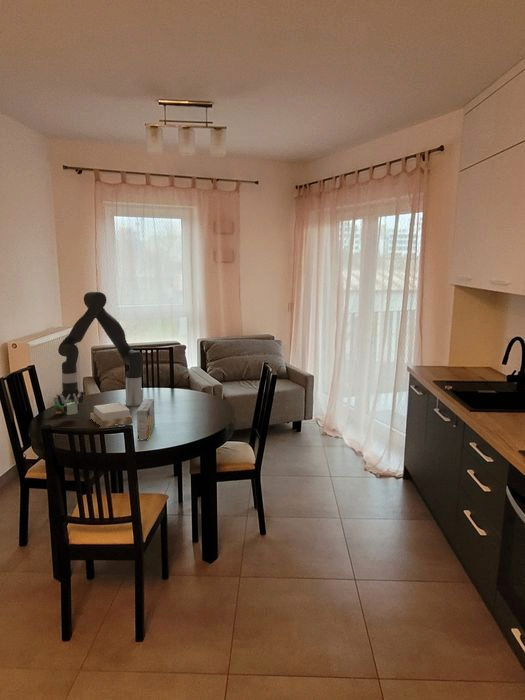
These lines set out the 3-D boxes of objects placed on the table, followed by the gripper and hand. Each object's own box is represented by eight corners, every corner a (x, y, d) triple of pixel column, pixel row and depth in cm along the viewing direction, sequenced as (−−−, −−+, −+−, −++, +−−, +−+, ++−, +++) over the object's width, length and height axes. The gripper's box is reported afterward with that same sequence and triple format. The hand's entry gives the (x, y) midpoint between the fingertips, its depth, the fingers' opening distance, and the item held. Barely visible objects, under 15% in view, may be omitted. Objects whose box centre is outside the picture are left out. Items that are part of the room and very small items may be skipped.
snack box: (144, 426, 235) (144, 398, 233) (155, 426, 236) (155, 398, 234) (136, 440, 215) (136, 410, 212) (148, 440, 215) (148, 410, 213)
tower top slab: (119, 409, 252) (119, 402, 252) (129, 416, 239) (129, 409, 239) (93, 413, 244) (93, 405, 243) (102, 420, 231) (102, 413, 231)
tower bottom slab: (119, 415, 254) (119, 408, 254) (132, 423, 241) (132, 416, 240) (90, 420, 244) (90, 413, 244) (102, 429, 231) (102, 421, 230)
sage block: (74, 411, 245) (74, 402, 244) (77, 413, 241) (77, 404, 240) (65, 412, 241) (64, 403, 241) (68, 415, 238) (67, 405, 237)
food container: (64, 416, 247) (63, 398, 246) (54, 415, 249) (53, 397, 247) (77, 410, 259) (77, 393, 258) (68, 409, 261) (67, 392, 259)
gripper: (81, 377, 246) (82, 407, 248) (53, 381, 236) (55, 412, 239) (85, 380, 240) (87, 411, 243) (57, 384, 231) (59, 416, 234)
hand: (71, 411), depth 241 cm, fingers closed on sage block, 5 cm apart
